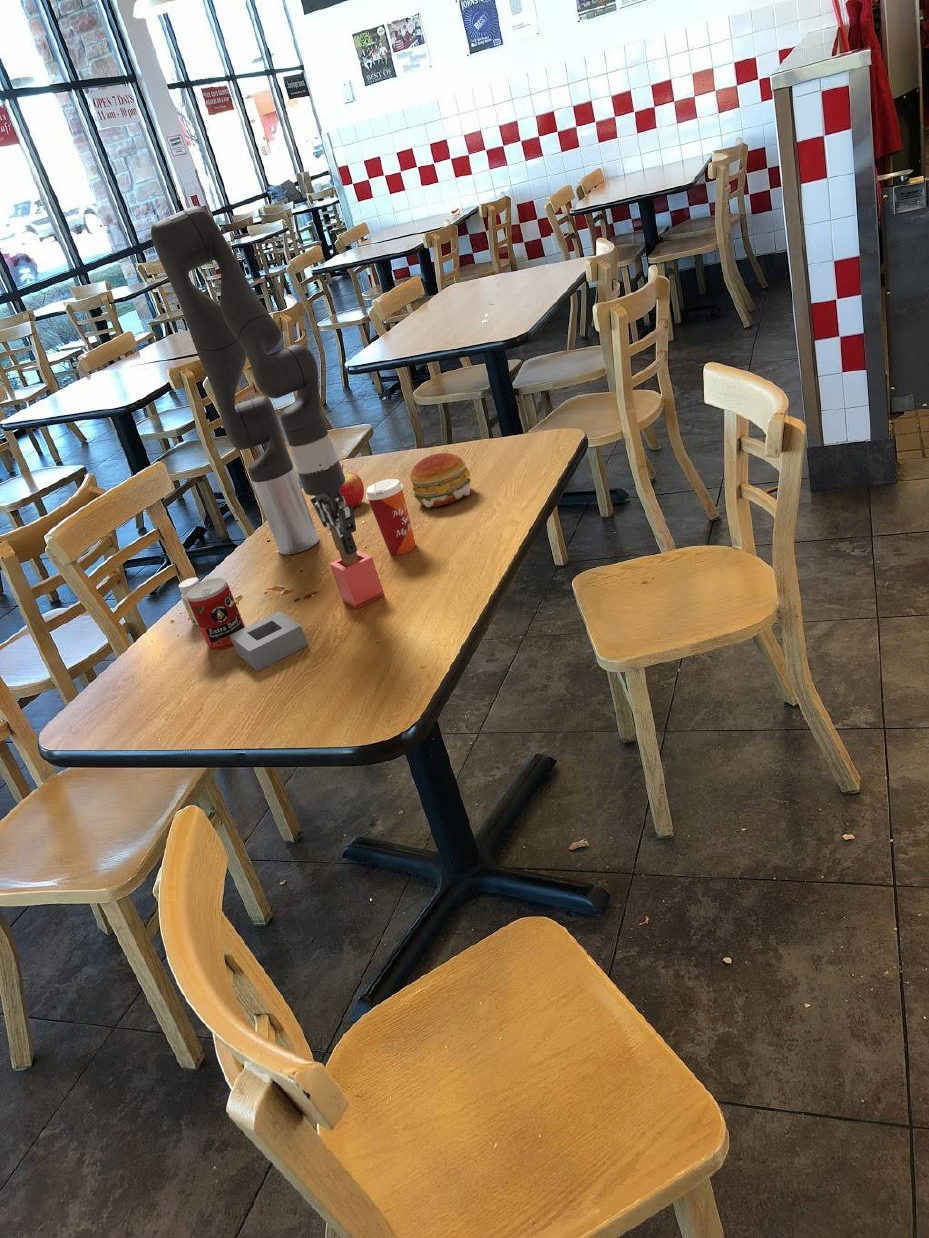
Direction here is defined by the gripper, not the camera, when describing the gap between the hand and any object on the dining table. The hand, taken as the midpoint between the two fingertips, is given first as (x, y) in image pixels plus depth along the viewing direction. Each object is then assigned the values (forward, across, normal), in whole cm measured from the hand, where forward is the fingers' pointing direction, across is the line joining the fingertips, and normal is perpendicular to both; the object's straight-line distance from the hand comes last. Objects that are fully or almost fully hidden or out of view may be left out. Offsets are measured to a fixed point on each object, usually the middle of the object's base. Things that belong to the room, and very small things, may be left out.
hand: (347, 550), depth 181 cm
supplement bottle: (+10, -25, -24) cm, 36 cm away
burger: (+10, -28, +36) cm, 47 cm away
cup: (+10, 0, 0) cm, 10 cm away
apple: (+10, -49, +22) cm, 55 cm away
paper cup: (+10, -13, +16) cm, 23 cm away
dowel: (+9, 0, 0) cm, 9 cm away
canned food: (+10, -11, -24) cm, 28 cm away
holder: (+10, +2, -20) cm, 23 cm away
